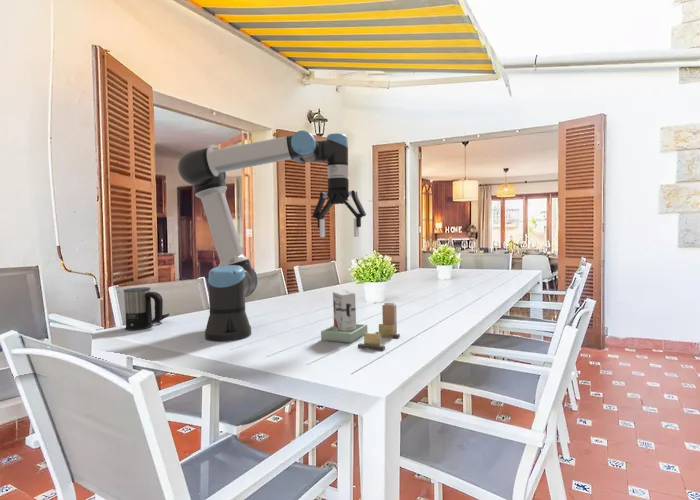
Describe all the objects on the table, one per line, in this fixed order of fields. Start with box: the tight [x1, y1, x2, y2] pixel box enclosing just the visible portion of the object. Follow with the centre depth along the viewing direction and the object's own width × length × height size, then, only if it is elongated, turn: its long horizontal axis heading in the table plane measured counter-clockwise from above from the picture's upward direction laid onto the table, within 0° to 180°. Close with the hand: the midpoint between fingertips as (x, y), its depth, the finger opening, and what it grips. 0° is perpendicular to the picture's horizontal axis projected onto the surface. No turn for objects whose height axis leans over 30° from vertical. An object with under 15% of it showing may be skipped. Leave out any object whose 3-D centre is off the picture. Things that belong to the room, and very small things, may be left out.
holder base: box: [357, 331, 401, 351], centre depth 133 cm, size 8×16×1 cm, turn 156°
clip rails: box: [363, 323, 395, 345], centre depth 133 cm, size 5×14×4 cm, turn 156°
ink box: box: [332, 290, 357, 331], centre depth 140 cm, size 8×5×12 cm, turn 23°
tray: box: [320, 323, 368, 344], centre depth 140 cm, size 11×14×3 cm
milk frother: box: [122, 286, 170, 331], centre depth 163 cm, size 14×16×15 cm
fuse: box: [381, 301, 398, 334], centre depth 142 cm, size 4×3×11 cm, turn 66°
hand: (339, 236), depth 155 cm, fingers open, 13 cm apart
